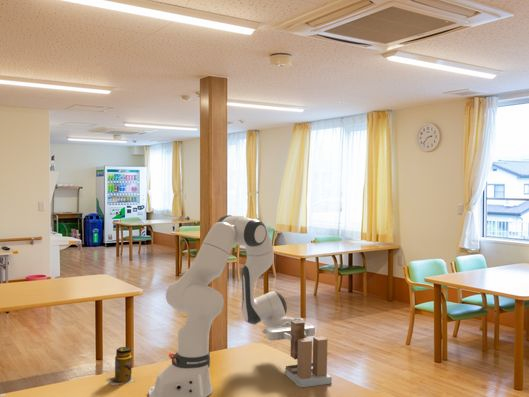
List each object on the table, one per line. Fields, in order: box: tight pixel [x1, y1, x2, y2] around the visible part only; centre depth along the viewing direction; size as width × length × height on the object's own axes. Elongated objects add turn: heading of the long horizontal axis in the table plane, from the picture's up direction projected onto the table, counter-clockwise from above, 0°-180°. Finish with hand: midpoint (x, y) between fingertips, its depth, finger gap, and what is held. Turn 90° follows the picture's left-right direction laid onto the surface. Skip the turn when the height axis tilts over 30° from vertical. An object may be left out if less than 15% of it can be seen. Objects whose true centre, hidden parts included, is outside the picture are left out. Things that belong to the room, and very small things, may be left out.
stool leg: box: [290, 320, 305, 360], centre depth 197 cm, size 4×4×14 cm
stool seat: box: [284, 335, 333, 389], centre depth 195 cm, size 13×14×16 cm
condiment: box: [106, 346, 135, 386], centre depth 190 cm, size 7×8×12 cm
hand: (298, 337), depth 196 cm, fingers closed on stool leg, 4 cm apart
